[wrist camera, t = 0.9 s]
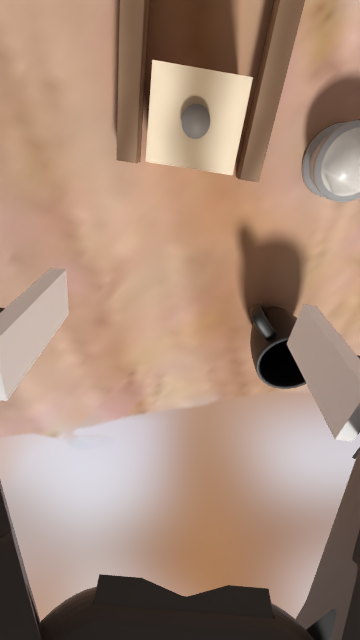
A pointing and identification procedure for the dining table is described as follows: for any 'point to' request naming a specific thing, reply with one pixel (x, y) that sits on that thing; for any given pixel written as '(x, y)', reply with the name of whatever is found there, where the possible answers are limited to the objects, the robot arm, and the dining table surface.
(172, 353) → the dining table surface
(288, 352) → the mug
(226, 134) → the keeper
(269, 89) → the channel
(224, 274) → the dining table surface
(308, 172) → the gray yo-yo
